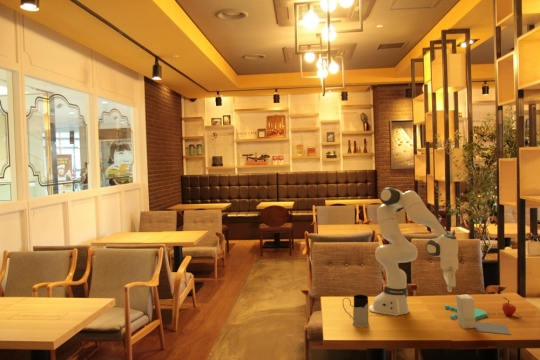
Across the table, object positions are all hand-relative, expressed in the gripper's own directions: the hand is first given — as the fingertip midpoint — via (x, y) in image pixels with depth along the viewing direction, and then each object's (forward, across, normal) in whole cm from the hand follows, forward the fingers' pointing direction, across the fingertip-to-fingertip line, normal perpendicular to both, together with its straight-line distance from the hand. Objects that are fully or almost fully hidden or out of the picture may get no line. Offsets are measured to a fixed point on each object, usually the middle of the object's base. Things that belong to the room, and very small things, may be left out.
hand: (449, 291), depth 249 cm
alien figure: (+18, +20, -11) cm, 29 cm away
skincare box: (+18, 0, -8) cm, 20 cm away
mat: (+18, 0, -20) cm, 27 cm away
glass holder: (+18, -9, +49) cm, 52 cm away
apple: (+18, +23, -33) cm, 44 cm away
